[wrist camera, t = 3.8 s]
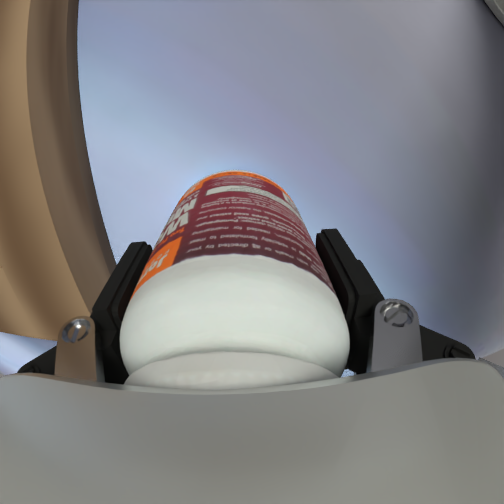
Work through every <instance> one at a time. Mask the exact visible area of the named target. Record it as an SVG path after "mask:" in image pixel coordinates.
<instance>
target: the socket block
mask: <svg viewBox="0 0 504 504" xmlns="http://www.w3.org/2000/svg"><path fill="white" fill-rule="evenodd" d="M78 1H79V0H0V332H4V333H9V334H15V335H21V336H27V337H33V338H40V339H47V340H54V341H57V340H58V334H59V331H60V329H61V327H62V326H63V325H64V324H65V323H66V322H67V321H69V320H70V319H72V318H74V317H77V316H88V317H90V315H91V313H92V307H93V306H94V304H95V302H96V300H97V298H98V297H99V295H100V293H101V291H102V289H103V288H104V286H105V284H106V283H107V281H108V279H109V277H110V276H111V274H112V272H113V271H114V269H115V268H116V266H117V265H116V262H115V259H114V256H113V253H112V250H111V247H110V244H109V240H108V237H107V234H106V230H105V227H104V223H103V219H102V216H101V212H100V208H99V204H98V200H97V196H96V192H95V187H94V183H93V178H92V174H91V169H90V164H89V159H88V153H87V147H86V141H85V135H84V128H83V121H82V113H81V104H80V94H79V82H78V64H77V18H78Z"/></svg>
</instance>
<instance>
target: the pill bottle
mask: <svg viewBox="0 0 504 504" xmlns="http://www.w3.org/2000/svg"><path fill="white" fill-rule="evenodd" d="M349 350H350V338H349V331H348V326H347V323H346V320H345V317H344V314H343V311H342V308H341V305H340V303H339V300H338V298H337V296H336V293H335V291H334V289H333V286H332V283H331V281H330V279H329V277H328V274H327V272H326V270H325V268H324V266H323V263H322V261H321V259H320V257H319V255H318V252H317V250H316V248H315V245H314V244H313V241H312V239H311V237H310V235H309V233H308V231H307V228H306V226H305V224H304V222H303V220H302V218H301V216H300V214H299V211H298V210H297V208H296V206H295V204H294V203H293V201H292V199H291V198H290V196H289V195H288V194H287V193H286V191H285V190H284V189H283V188H282V187H280V186H279V185H278V184H277V183H275V182H274V181H272V180H271V179H269V178H267V177H265V176H263V175H260V174H258V173H255V172H250V171H245V170H226V171H221V172H217V173H214V174H211V175H208V176H206V177H204V178H202V179H201V180H199V181H198V182H196V183H195V184H194V185H193V186H191V187H190V188H189V189H188V190H187V191H186V193H185V194H184V195H183V196H182V198H181V199H180V201H179V202H178V204H177V206H176V207H175V209H174V211H173V213H172V214H171V216H170V218H169V220H168V222H167V224H166V225H165V227H164V229H163V231H162V233H161V235H160V237H159V239H158V241H157V243H156V245H155V247H154V249H153V251H152V253H151V255H150V257H149V259H148V261H147V263H146V265H145V267H144V270H143V272H142V275H141V277H140V279H139V281H138V283H137V286H136V288H135V290H134V292H133V295H132V297H131V299H130V302H129V304H128V307H127V309H126V312H125V315H124V318H123V321H122V325H121V330H120V351H121V356H122V359H123V363H124V365H125V368H126V370H127V372H128V374H129V377H128V378H127V380H126V381H125V383H124V385H132V386H144V387H161V388H178V389H195V390H227V389H244V388H255V387H264V386H277V385H288V384H298V383H306V382H314V381H322V380H329V379H335V378H340V377H341V376H342V374H343V372H344V369H345V367H346V364H347V360H348V356H349Z"/></svg>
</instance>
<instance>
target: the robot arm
mask: <svg viewBox="0 0 504 504" xmlns="http://www.w3.org/2000/svg"><path fill="white" fill-rule="evenodd" d="M484 1H485V2H486V4H487V5H488V6H489V8H490V9H491V10H492V12H493V13H494V15H495V16H496V17H497V18H498V19H499V21H500V22H501V23H502V25H503V26H504V0H484ZM315 248H316V250H317V252H318V255H319V257H320V259H321V261H322V263H323V266H324V268H325V270H326V272H327V274H328V277H329V279H330V281H331V283H332V286H333V289H334V291H335V293H336V296H337V298H338V300H339V303H340V305H341V308H342V311H343V314H344V317H345V320H346V323H347V326H348V331H349V338H350V350H349V356H348V360H347V364H346V367H345V369H349V370H351V371H353V372H354V375H353V376H347V377H341V378H335V379H329V380H322V381H314V382H306V383H298V384H288V385H277V386H264V387H255V388H244V389H227V390H195V389H178V388H161V387H144V386H132V385H124V383H125V381H126V380H127V378H128V377H129V374H128V372H127V370H126V368H125V365H124V363H123V359H122V356H121V351H120V330H121V325H122V321H123V318H124V315H125V312H126V309H127V307H128V304H129V302H130V299H131V297H132V295H133V292H134V290H135V288H136V286H137V283H138V281H139V279H140V277H141V275H142V272H143V270H144V267H145V265H146V263H147V261H148V259H149V257H150V255H151V253H152V251H153V250H152V247H151V245H147V243H146V242H145V241H144V242H133V243H131V244H130V245H129V247H128V248H127V250H126V251H125V253H124V255H123V256H122V258H121V259H120V261H119V263H118V264H117V266H116V268H115V269H114V271H113V272H112V274H111V276H110V277H109V279H108V281H107V283H106V284H105V286H104V288H103V289H102V291H101V293H100V295H99V297H98V298H97V300H96V302H95V304H94V306H93V307H92V313H91V315H90V317H88V316H77V317H74V318H72V319H70V320H69V321H67V322H66V323H65V324H64V325H63V326H62V327H61V329H60V331H59V334H58V340H57V346H55V347H53V348H52V349H50V350H48V351H47V352H45V353H43V354H42V355H40V356H38V357H37V358H35V359H33V360H32V361H30V362H28V363H27V364H25V365H24V366H22V367H21V368H20V369H19V371H18V372H17V373H15V374H10V375H6V376H3V377H0V504H504V368H503V367H501V366H499V365H496V364H494V363H492V362H489V361H487V360H485V359H482V358H480V357H479V359H478V360H476V359H475V356H474V354H473V352H472V351H471V349H470V348H468V347H467V346H466V345H464V344H462V343H460V342H458V341H456V340H453V339H451V338H449V337H446V336H444V335H442V334H439V333H437V332H435V331H432V330H430V329H428V328H425V327H423V326H421V325H419V319H418V315H417V312H416V310H415V309H414V308H413V307H412V306H411V305H410V304H409V303H407V302H405V301H403V300H399V299H386V300H385V299H384V297H383V295H382V294H381V292H380V290H379V289H378V287H377V285H376V284H375V282H374V281H373V279H372V277H371V276H370V274H369V273H368V271H367V269H366V268H365V266H364V265H363V263H362V262H361V261H360V260H357V259H356V258H355V256H354V254H353V253H352V251H351V250H350V248H349V247H348V245H347V244H346V242H345V240H344V239H343V237H342V236H341V234H340V233H339V231H338V230H337V229H322V230H321V233H317V235H316V247H315Z"/></svg>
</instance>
